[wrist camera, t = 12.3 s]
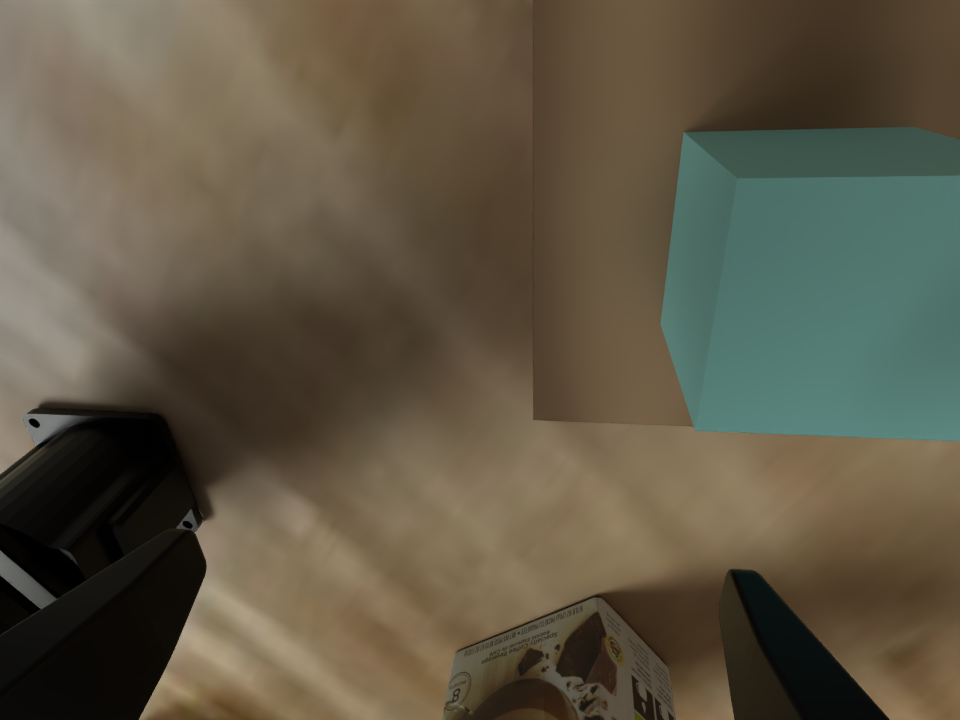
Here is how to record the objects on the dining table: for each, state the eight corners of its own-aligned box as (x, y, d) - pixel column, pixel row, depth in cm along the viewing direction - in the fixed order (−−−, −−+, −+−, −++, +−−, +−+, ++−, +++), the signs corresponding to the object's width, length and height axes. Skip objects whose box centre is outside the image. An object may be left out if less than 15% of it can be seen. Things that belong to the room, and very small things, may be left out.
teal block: (660, 323, 16) (694, 430, 12) (683, 132, 14) (737, 178, 10) (854, 327, 16) (965, 441, 11) (914, 126, 13) (1083, 173, 9)
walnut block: (539, 357, 22) (533, 419, 19) (541, -26, 16) (533, -40, 13) (889, 367, 20) (954, 437, 17) (1033, -57, 14) (1177, -83, 11)
